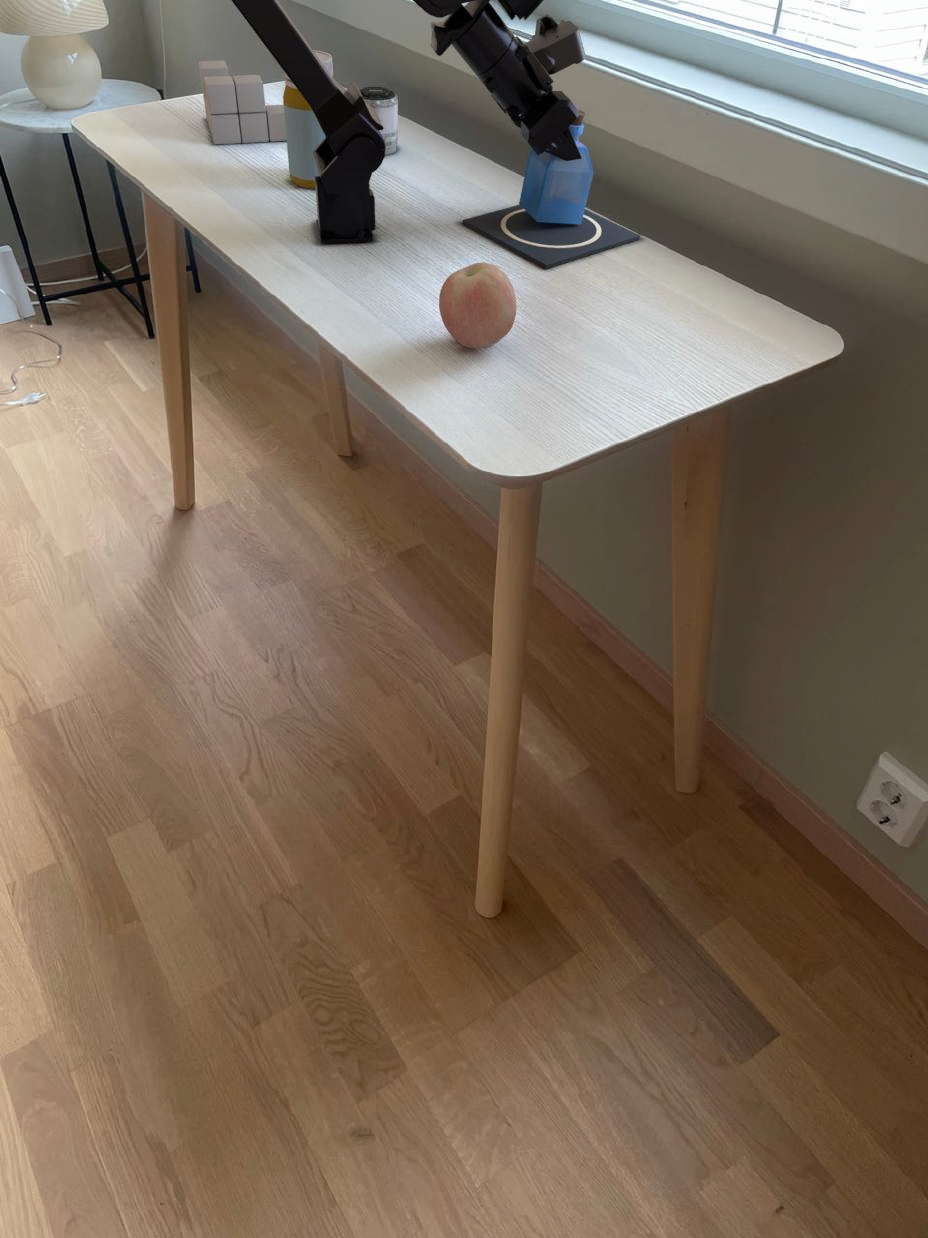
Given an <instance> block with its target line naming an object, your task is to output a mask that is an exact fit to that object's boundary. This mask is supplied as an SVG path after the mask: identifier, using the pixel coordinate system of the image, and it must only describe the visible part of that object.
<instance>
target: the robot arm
mask: <svg viewBox="0 0 928 1238" xmlns="http://www.w3.org/2000/svg"><path fill="white" fill-rule="evenodd" d="M490 1H491V0H412V2H414V3H415V4H416V5H417V6H418V7H419V8H421V9H422V11H424V12H425V13H426V14H428V15H430V16H431V17H434V18H440V19H441V18H442V19H443V18H445V17H446V18H445V19H444V20H443V21H438V22H436V21H431V22H430V29H431V40H430V47H431V48H432V50H433V51H434V53H435V54H436V56H438V57H442V55H444V53H445V52H446V51H447V50H448V49H449V48H450V47H451V46H452V48H453V49H454V50H455V51H456V52H457V53H458V54H459V56H460V57H461V58H462V59H463V60H464V62H465V63H466V64H467V66H468V68H470V70H471V71H472V72H473V73H474V74H475V76H476V77H477V78H478V79H479V80H480V81H481V83H482V85H483V86H484V87H485V88H486V89H487V91H488V92H489V93H490V96H491V98H492V99H493V101H494V102H495V103H496V105H498V107H499V108H500V110H502V112H503V113H504V114H505V115H506V114H507V115H508V116H509V119H510V120H511V122H512V123H513V125H514V126H516V127H517V128H519V129H520V135H521V136H522V138H523V139H524V140H525V141H526V143H527V144H528V145H529V146H530V147H531V150H532V149H533V150H534V151H535V152H536V153H537V155H539V154H542V153H543V152H547V153H549V154H551V155H554V156H556V157H558V158H560V159H563V160H565V161H571V160H577V159H582V157H581V155H580V152H579V150H578V148H577V146H576V143H575V141H574V139H573V136H572V134H571V132H570V129H569V126H570V125H571V124H572V123H573V122H574V121H575V120H576V119H577V118H578V116H579V113H580V112H579V111H578V110H579V108H577V107H576V105H575V104H574V103H573V101H572V99H570V97H568V96H567V95H566V93H564V91H563V90H554V89H553V88H554V87H553V85H552V84H553V83H554V82H555V81H554V80H553V78H552V77H551V76H552V75H554V74H557V73H559V72H561V71H563V70H565V69H566V68H568V67H570V66H573V65H574V64H575V65H578V64H580V63H582V62H583V61H584V60H585V59H586V58H587V55H586V52H585V48H584V45H583V44H584V43H583V40H582V37H581V36H582V35H581V33H580V28H579V27H578V26H577V25H576V24H575V23H573V22H572V21H571V20H564V19H561V20H559V21H560V22H559V23H558V22H557V21H556V20H555V19H554V18H553V16H551V15H550V14H548V13H546V14H545V15H542V16H540V17H539V18H537V19H536V22H535V31H534V34H533V35H531V39H530V40H528V41H526V42H523V41H522V39H521V38H520V37H519V36H518V35H516V36H515V34H514V33H513V32H512V30H511V29H510V28H509V26H508V25H507V24H506V22H505V21H504V20H503V18H502V17H501V16H500V15H499V13H498V11H496V9H495V8H494V6H493V5H492V4H491V3H490ZM544 1H545V0H495V2H496V3H497V5H498V6H499V7H500V8H501V10H502V11H503V12H504V14H505V15H506V16H507V17H508V19H509V20H510V21H513V20H514V19H515V18H516V17H517V19H518V20H519V21H521V20H522V19H523V20H524V21H526V20H527V19H528V18H529V17H530V16H531V15H532V14H533V13H534V12H535V11H536V9H538V8H539V6H540V5H541V4H542V3H543V2H544ZM231 2H232V3H233V5H234V6H235V7H236V8H237V10H238V11H239V13H240V14H241V15H242V16H243V18H244V20H245V21H246V22H247V23H248V25H249V26H250V28H251V29H252V30H253V31H254V33H255V34H256V36H257V37H258V38H259V39H260V41H261V43H262V44H263V45H264V46H265V48H266V49H267V51H268V52H269V53H270V54H271V56H272V58H274V60H275V61H276V62H277V63H278V65H279V66H280V69H282V70H283V73H284V72H285V73H286V74H287V76H288V77H289V78H290V80H291V81H292V82H293V84H294V85H295V86H296V88H297V89H298V90H299V92H300V93H301V94H302V96H303V97H304V98H305V100H306V101H307V102H308V104H309V105H310V107H311V108H312V110H313V112H314V114H315V116H316V118H317V120H318V122H319V124H320V126H321V128H322V130H323V132H324V134H325V136H326V137H325V139H324V140H323V141H322V142H321V143H320V144H319V145H318V147H317V148H316V149H315V150H314V151H313V155H314V159H315V162H316V165H317V169H318V172H319V175H320V176H316V177H315V188H316V189H315V201H316V202H315V203H316V213H317V214H316V215H317V219H315V224H316V228H317V229H316V230H317V234H318V238H319V243H322V244H337V243H338V244H340V243H361V242H362V243H363V242H364V243H365V242H373V241H374V239H375V238H374V234H373V232H375V230H376V227H377V226H376V198H375V194H374V192H373V190H372V188H371V187H370V186H371V184H370V181H371V179H372V175H373V173H374V172H376V171H377V170H378V169H379V168H380V167H381V165H382V164H383V161H384V159H385V156H386V155H385V149H386V146H385V142H384V140H383V137H382V135H381V133H380V131H379V130H383V129H384V127H383V125H382V123H381V121H380V119H379V117H378V115H377V113H376V111H375V109H374V108H372V107H371V106H369V105H368V104H367V103H366V102H365V100H364V99H363V97H362V95H361V93H360V91H359V90H360V89H359V86H358V84H357V82H356V81H353V82H351V84H350V86H349V87H348V88H347V89H346V88H344V87H343V86H342V85H341V84H340V83H338V82H337V81H336V79H335V78H334V77H333V78H332V77H331V75H330V74H329V72H328V71H327V70H326V68H325V67H324V65H323V64H322V62H321V61H320V60H319V58H318V57H317V55H316V54H315V53H314V51H313V50H314V49H313V48H312V47H311V45H310V44H309V43H308V41H307V40H306V39H305V37H304V35H303V34H302V33H301V32H300V30H299V29H298V27H297V26H296V24H295V23H294V21H293V20H292V19H291V17H290V16H289V14H288V13H287V11H286V10H285V8H283V6H282V5H281V3H280V2H279V0H231ZM463 4H465V5H463Z"/></svg>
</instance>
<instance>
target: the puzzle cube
mask: <svg viewBox="0 0 928 1238" xmlns="http://www.w3.org/2000/svg"><path fill="white" fill-rule="evenodd" d="M198 68H199V74H200V75H199V76H200V83H201V89H202V96H203V104H204V110H205V116H206V121H207V125H208V128H209V131H210V134H211V137H212V140H213V144H214V145H231V144H232V145H233V144H235V145H236V144H241V143H242V144H250V143H251V144H252V143H268V142H269V141H270V142H287V140H286V128H285V117H284V105H283V104H266V99H265V89H264V81H263V80H262V78H261V76H260V74H244V75H232V76H231V75H229V68H228V65H227V63H226V61H225V60H200V61H198Z"/></svg>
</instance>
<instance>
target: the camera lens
mask: <svg viewBox="0 0 928 1238" xmlns="http://www.w3.org/2000/svg"><path fill="white" fill-rule="evenodd" d="M359 91H360V93H361V95H362V97H363V99H364V100H365V102H366V103H367V104H368V105H369V106H371V107H372V108H374V109H375V111H376V113H377V115H378V117H379V119H380V121H381V123H382V125H383V127H384V129H383V130H379V131H380V133H381V135H382V137H383V140H384V142H385V146H386V149H385V156H388V155H391V154H394V153H395V152H396V151H397V145H398V138H399V98H398V95H397V94H396V93H395V92H394V91H393V90H391V89H389V88H387V87H383V86H365V87H363V88H361V89H359Z"/></svg>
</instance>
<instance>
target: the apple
mask: <svg viewBox="0 0 928 1238" xmlns="http://www.w3.org/2000/svg"><path fill="white" fill-rule="evenodd" d="M516 297H517V296H516V293H515V288H514V286H513V284H512V282H511V279H510V278H509V277H508V276H507V274H506V273H505V272H504V271H503V270H502V269H501V268H500V267H498V266H497V265H495V264H492V263H489V262H484V261H483V262H477V263H474V264H470V265H468V266H465V267H463V268H459V269H458V270H456V271H454V272H452V273H451V274H449V275H448V277H447V278H446V279H445V281H444V282H443V284H442V286H441V289H440V291H439V296H438V309H439V315H440V317H441V320H442V323H443V325H444V328H445V329H446V331H447V332H448V334H449V335H450V336H451V337H452V338H453V339H454V340H455V341H456V342H457V343H459V344H460V345H462V347H463V346H464V347H465V348H468V349H473V350H475V349H476V350H482V349H483V350H484V349H487V348H490V347H492V346H494V345H495V344H497V343H498V342H500V341H501V340H502V339H504V338H505V337H506V335H508V333H509V332H510V331H511V330H512V328H513V326H514V323H515V321H516V315H517V298H516Z"/></svg>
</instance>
